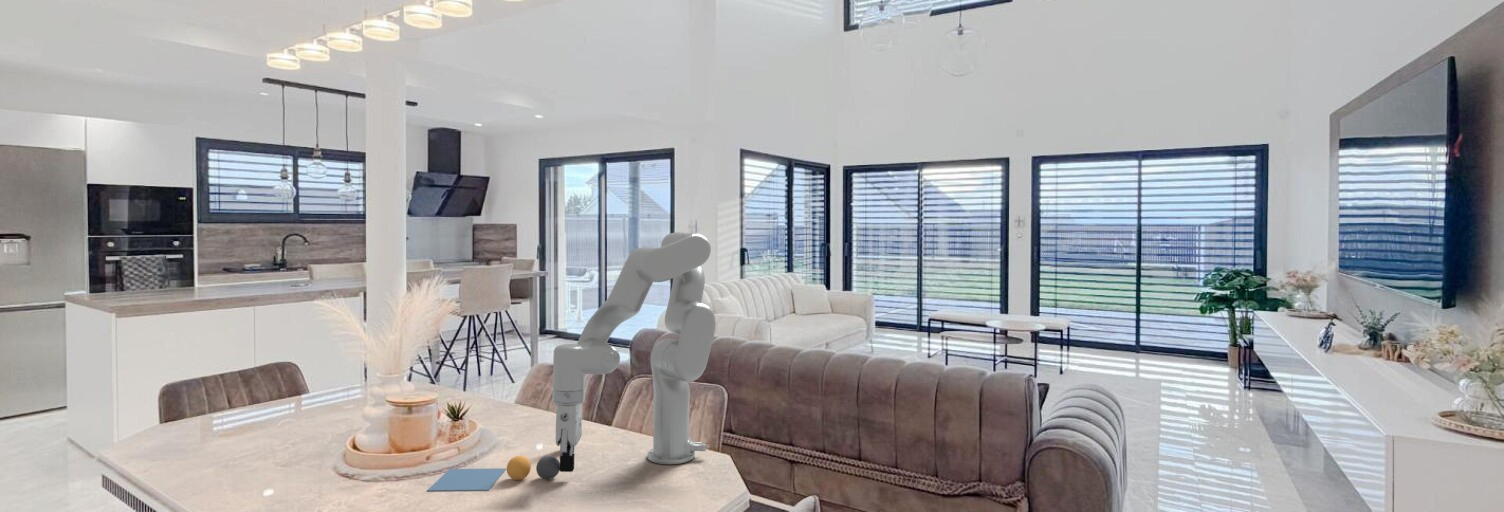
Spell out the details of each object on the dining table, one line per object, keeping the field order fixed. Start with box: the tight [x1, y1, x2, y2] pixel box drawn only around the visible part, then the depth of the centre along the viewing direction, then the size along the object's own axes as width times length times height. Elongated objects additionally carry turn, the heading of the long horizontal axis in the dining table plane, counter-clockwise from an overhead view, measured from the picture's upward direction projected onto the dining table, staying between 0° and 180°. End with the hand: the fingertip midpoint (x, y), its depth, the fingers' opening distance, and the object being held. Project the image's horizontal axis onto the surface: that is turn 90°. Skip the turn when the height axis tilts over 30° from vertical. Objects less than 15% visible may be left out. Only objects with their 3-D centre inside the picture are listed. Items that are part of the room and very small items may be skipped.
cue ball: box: [535, 454, 560, 480], centre depth 171 cm, size 6×6×6 cm
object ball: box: [506, 455, 532, 481], centre depth 170 cm, size 6×6×6 cm
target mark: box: [426, 467, 507, 492], centre depth 170 cm, size 14×14×1 cm
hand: (566, 470), depth 170 cm, fingers closed
